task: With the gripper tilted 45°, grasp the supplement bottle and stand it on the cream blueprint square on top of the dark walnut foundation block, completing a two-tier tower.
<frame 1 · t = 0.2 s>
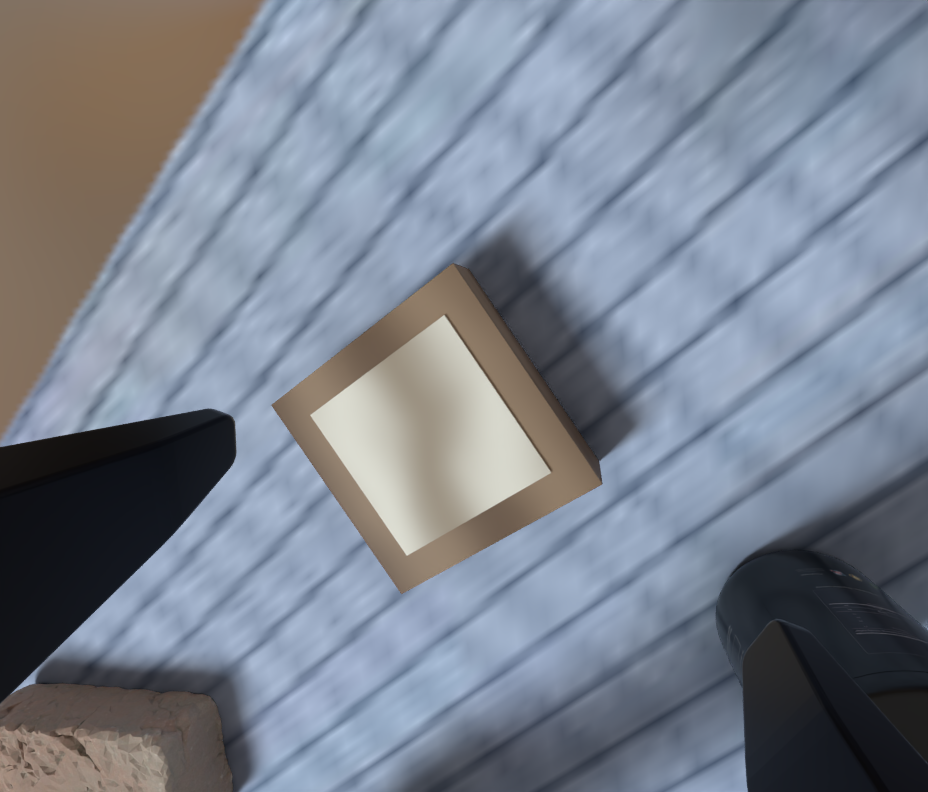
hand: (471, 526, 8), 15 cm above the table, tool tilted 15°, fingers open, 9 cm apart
walnut foundation: (443, 425, 24), on the table
supplement bottle: (792, 610, 22), on the table
brick: (135, 728, 34), on the table
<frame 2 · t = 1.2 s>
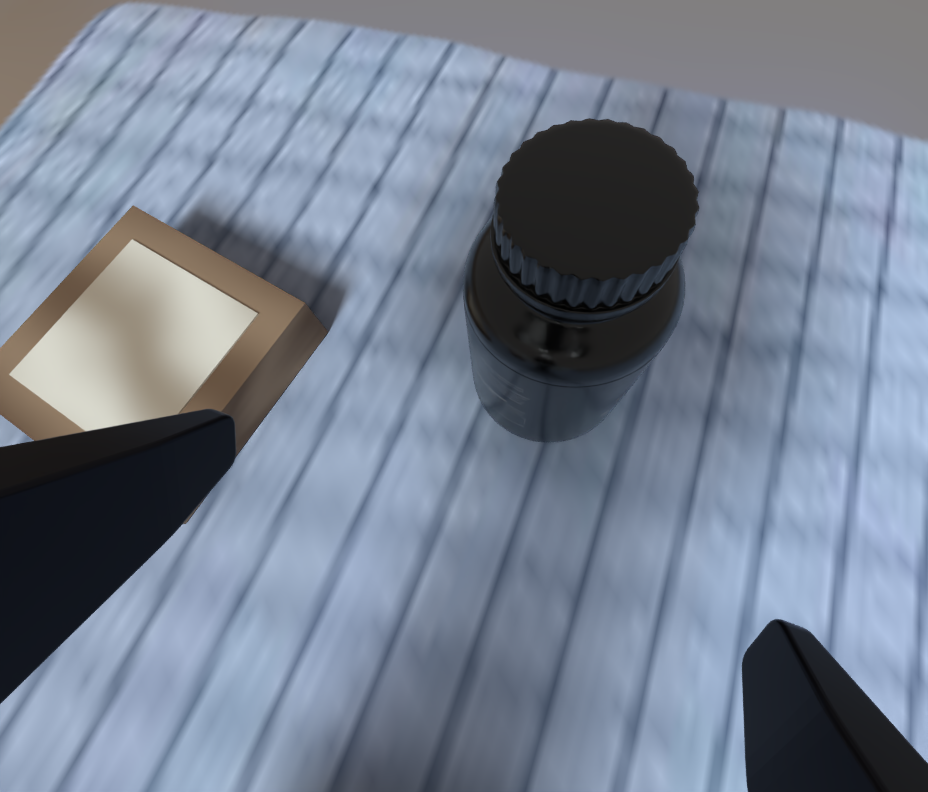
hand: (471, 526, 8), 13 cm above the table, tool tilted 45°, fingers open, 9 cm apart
walnut foundation: (178, 368, 24), on the table
supplement bottle: (545, 375, 23), on the table
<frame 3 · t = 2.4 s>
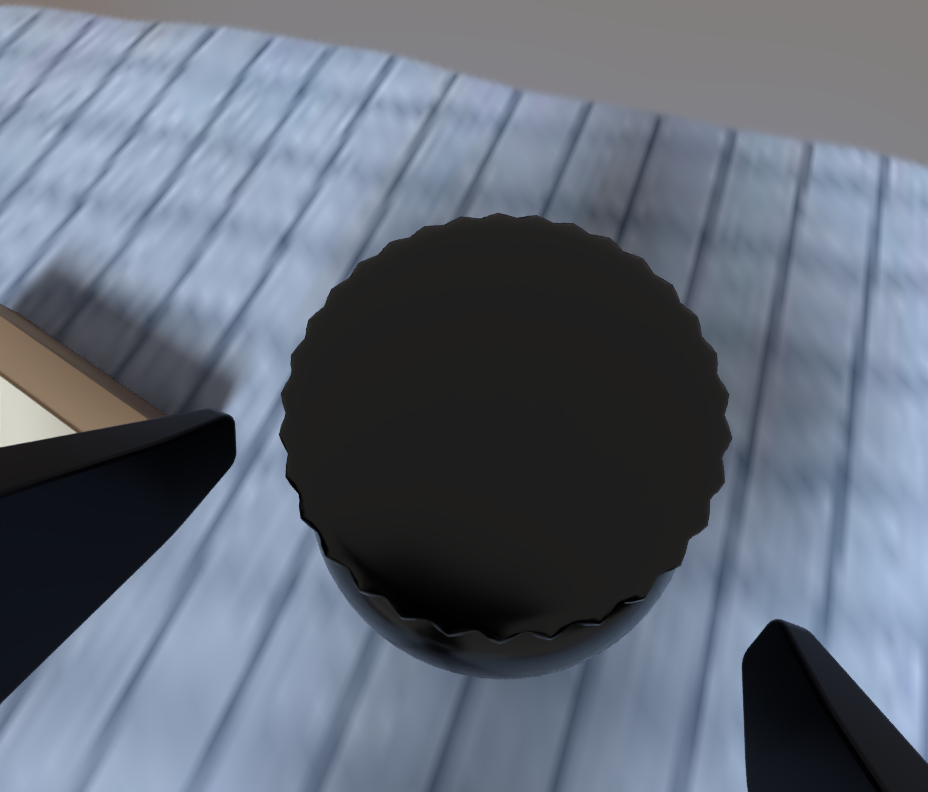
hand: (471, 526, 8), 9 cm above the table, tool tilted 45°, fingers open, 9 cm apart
supplement bottle: (495, 510, 16), on the table
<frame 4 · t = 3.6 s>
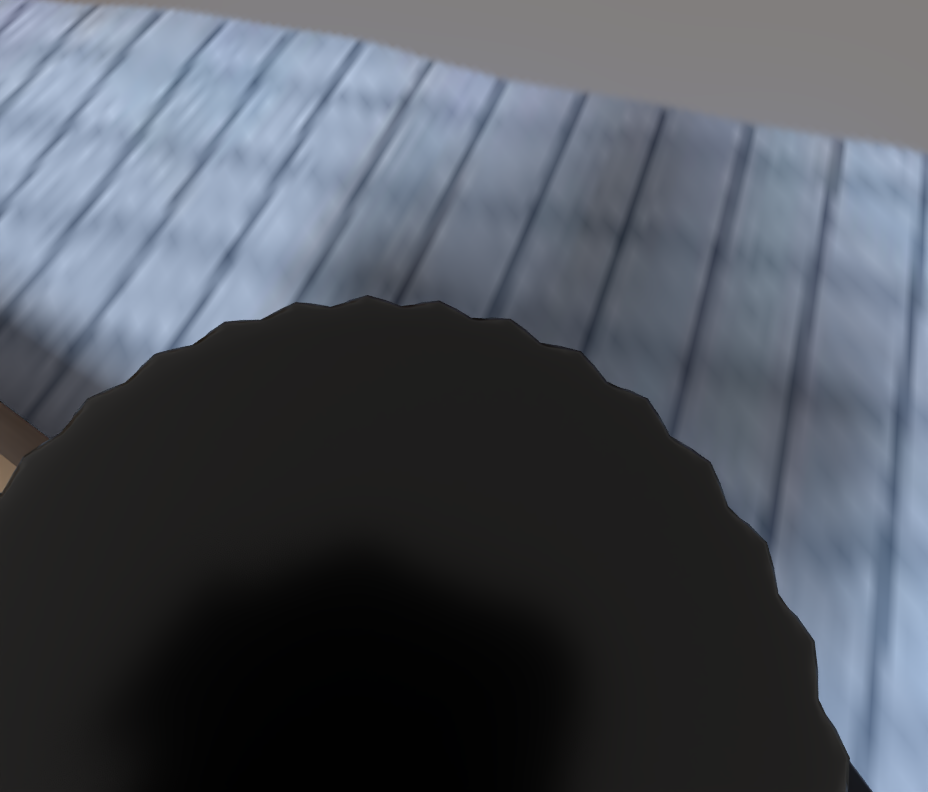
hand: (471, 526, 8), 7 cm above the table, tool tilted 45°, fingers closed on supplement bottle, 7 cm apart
supplement bottle: (467, 584, 14), on the table, touching gripper
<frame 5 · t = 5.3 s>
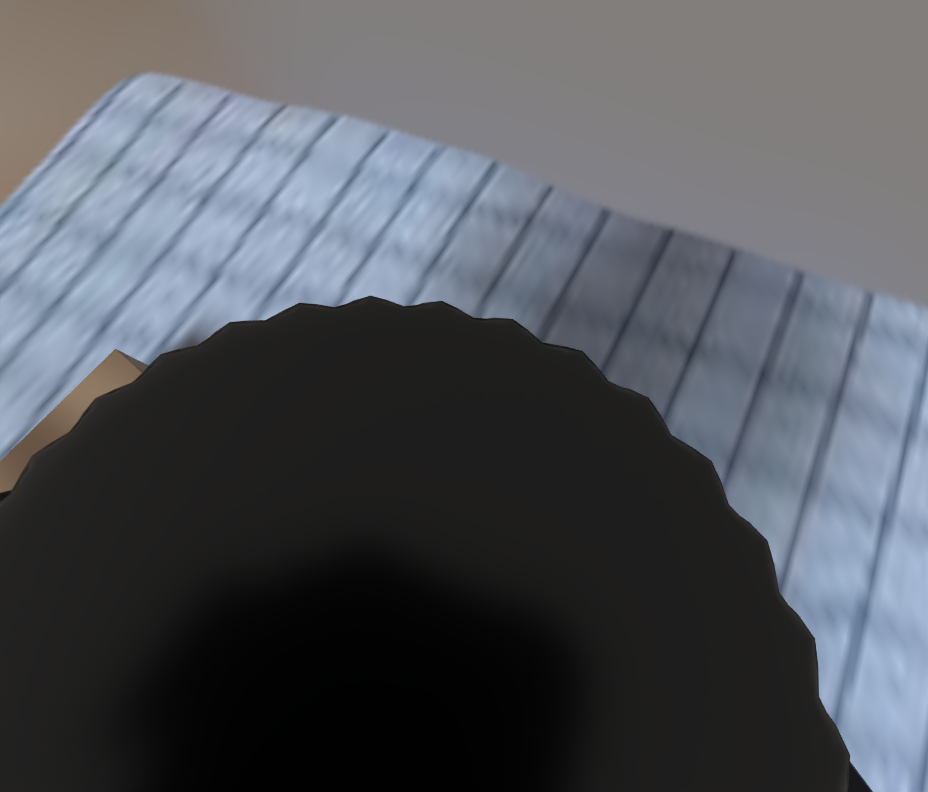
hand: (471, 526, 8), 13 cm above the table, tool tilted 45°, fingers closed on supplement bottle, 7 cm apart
walnut foundation: (148, 532, 21), on the table
supplement bottle: (470, 583, 14), point 6 cm above the table, touching gripper
when the fingers open (11 cm above the table, at t = 7.2 s): supplement bottle stays where it is, resting on walnut foundation.
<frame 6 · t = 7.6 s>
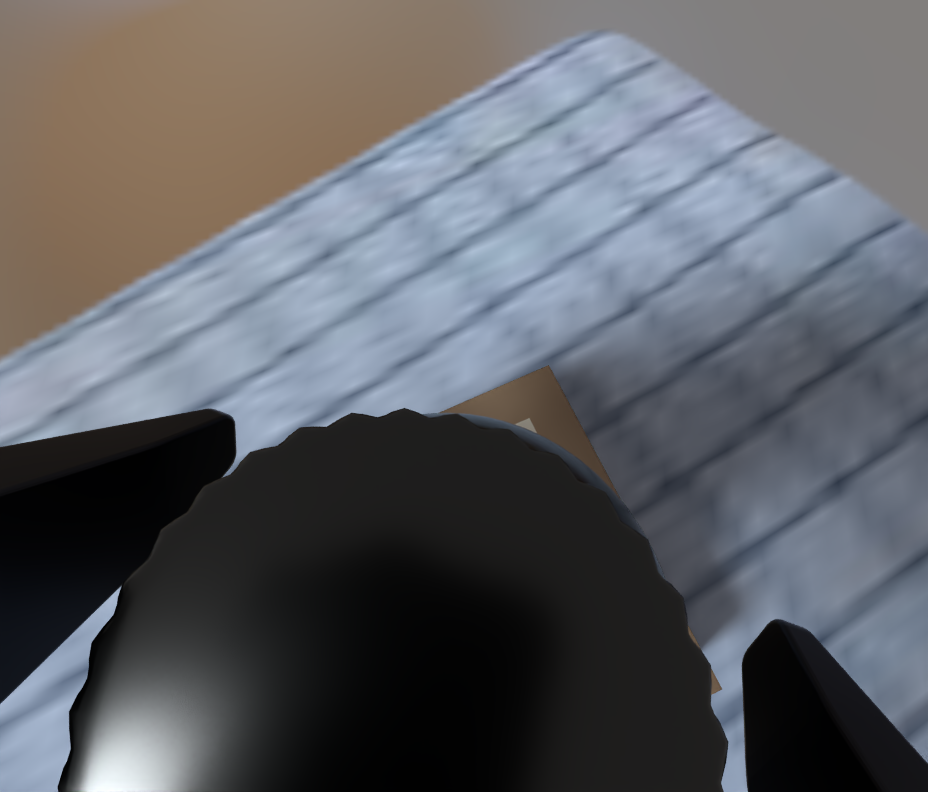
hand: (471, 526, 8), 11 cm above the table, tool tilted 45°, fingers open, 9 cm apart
walnut foundation: (474, 575, 18), on the table
supplement bottle: (470, 588, 15), point 3 cm above the table, touching walnut foundation
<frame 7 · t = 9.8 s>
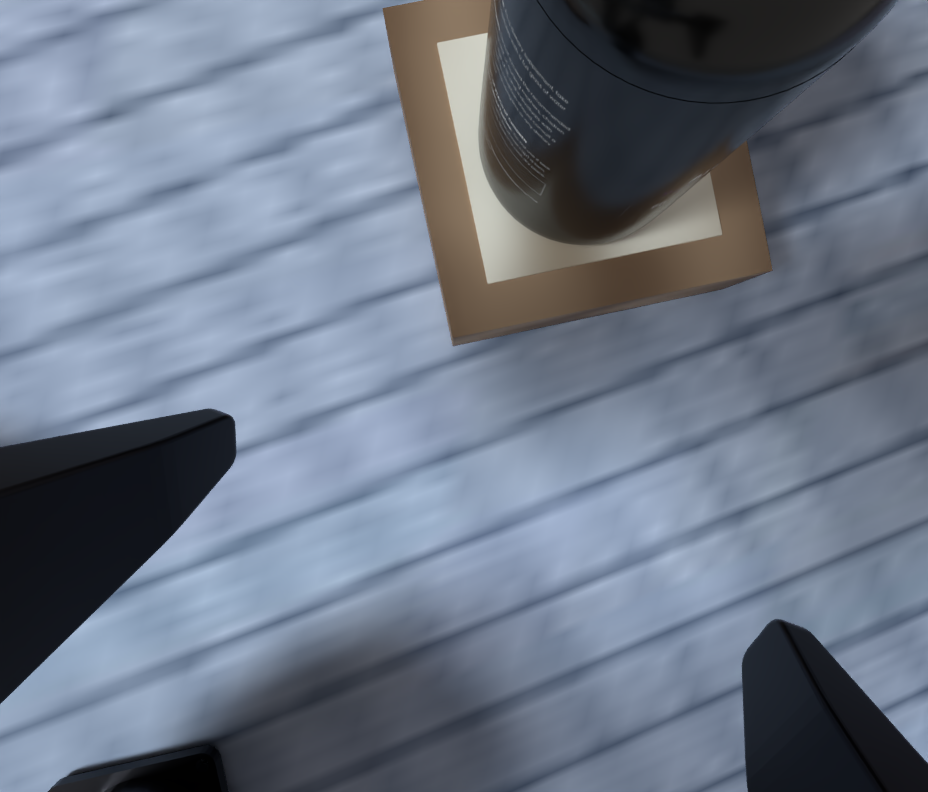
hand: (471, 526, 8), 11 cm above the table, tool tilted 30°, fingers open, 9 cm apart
walnut foundation: (559, 181, 19), on the table
supplement bottle: (578, 149, 16), point 3 cm above the table, touching walnut foundation
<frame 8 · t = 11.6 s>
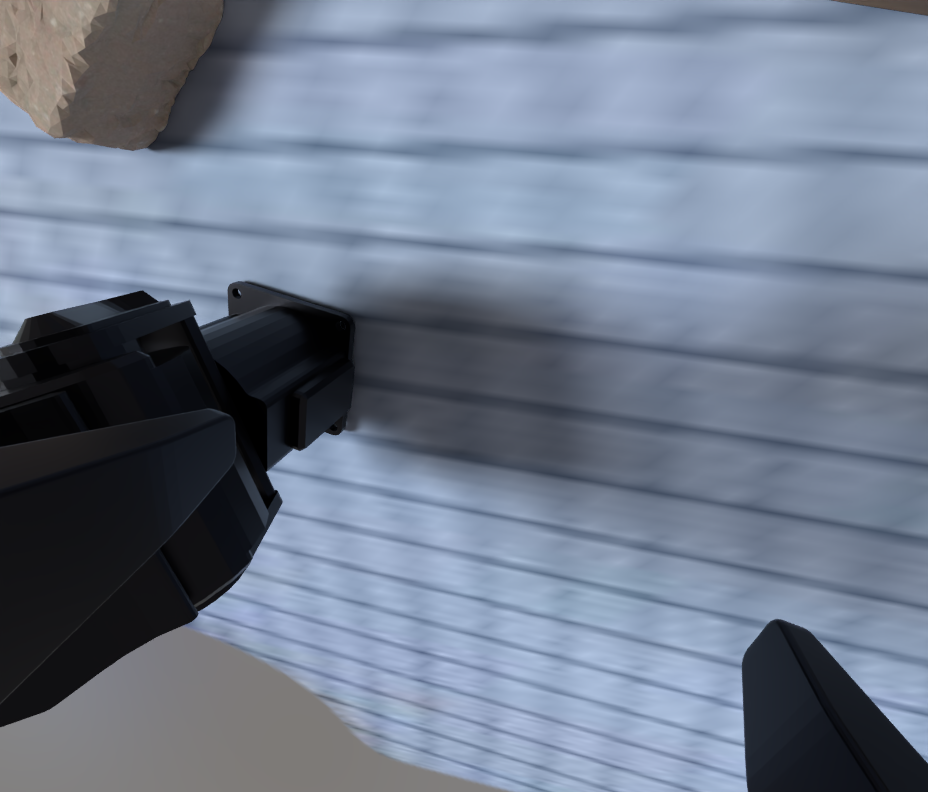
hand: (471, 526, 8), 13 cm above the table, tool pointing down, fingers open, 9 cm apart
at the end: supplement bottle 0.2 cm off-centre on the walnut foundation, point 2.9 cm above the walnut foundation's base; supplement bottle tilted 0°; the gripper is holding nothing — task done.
